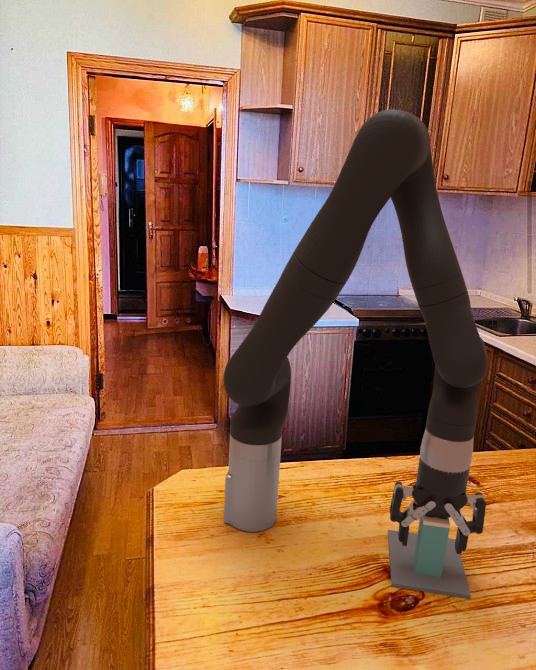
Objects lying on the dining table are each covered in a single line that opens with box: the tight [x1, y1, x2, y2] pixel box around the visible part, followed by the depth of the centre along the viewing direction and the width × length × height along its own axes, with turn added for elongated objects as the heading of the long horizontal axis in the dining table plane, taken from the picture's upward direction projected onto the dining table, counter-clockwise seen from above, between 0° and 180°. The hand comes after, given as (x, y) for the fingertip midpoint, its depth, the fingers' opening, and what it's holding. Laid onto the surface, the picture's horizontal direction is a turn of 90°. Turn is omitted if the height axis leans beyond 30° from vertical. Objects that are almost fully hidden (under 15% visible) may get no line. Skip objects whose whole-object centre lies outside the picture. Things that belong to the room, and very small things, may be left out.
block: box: [414, 514, 451, 578], centre depth 92 cm, size 4×4×10 cm
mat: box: [387, 529, 471, 600], centre depth 95 cm, size 12×14×1 cm
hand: (430, 546), depth 92 cm, fingers open, 8 cm apart
